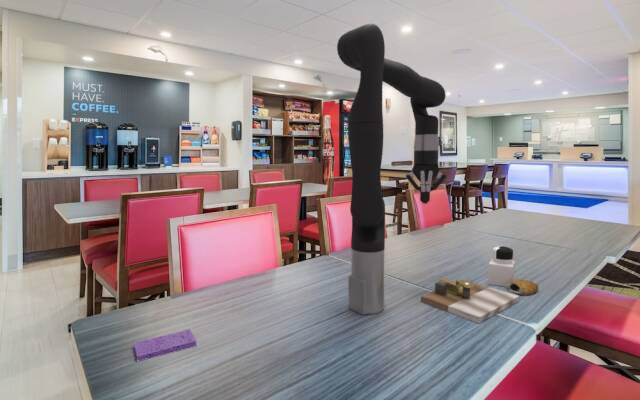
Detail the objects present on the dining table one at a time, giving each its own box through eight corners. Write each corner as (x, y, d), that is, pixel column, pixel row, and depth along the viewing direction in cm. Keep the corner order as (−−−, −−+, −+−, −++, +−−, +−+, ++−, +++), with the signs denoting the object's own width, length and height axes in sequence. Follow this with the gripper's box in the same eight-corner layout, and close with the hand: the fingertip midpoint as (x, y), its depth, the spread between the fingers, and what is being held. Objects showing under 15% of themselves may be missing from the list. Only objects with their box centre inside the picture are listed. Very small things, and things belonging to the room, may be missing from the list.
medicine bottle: (514, 281, 125) (516, 246, 123) (511, 288, 119) (513, 251, 117) (491, 277, 128) (492, 243, 127) (487, 284, 122) (489, 248, 121)
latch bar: (476, 297, 107) (476, 283, 106) (467, 300, 105) (467, 285, 104) (446, 286, 116) (446, 272, 115) (437, 288, 114) (437, 274, 113)
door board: (478, 323, 95) (479, 304, 94) (420, 301, 109) (421, 285, 108) (518, 301, 108) (519, 284, 108) (462, 284, 122) (463, 269, 122)
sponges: (196, 348, 86) (196, 340, 85) (136, 364, 80) (135, 355, 79) (190, 335, 92) (190, 328, 92) (134, 349, 86) (133, 341, 85)
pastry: (525, 285, 121) (526, 274, 121) (544, 293, 115) (545, 281, 114) (504, 290, 118) (505, 278, 117) (523, 298, 111) (524, 285, 111)
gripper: (406, 149, 115) (405, 204, 118) (450, 149, 114) (448, 205, 116) (403, 149, 123) (402, 201, 125) (445, 149, 121) (443, 201, 123)
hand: (424, 203), depth 120 cm, fingers closed
